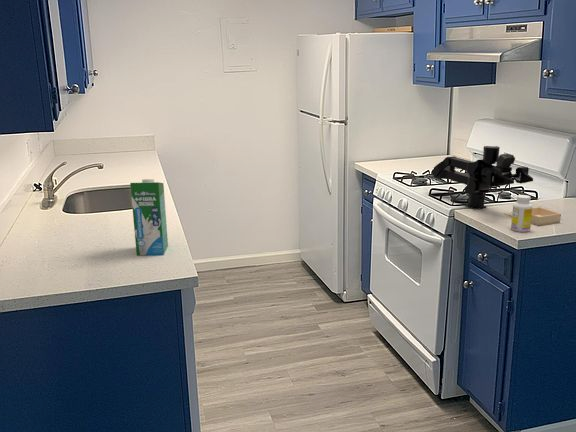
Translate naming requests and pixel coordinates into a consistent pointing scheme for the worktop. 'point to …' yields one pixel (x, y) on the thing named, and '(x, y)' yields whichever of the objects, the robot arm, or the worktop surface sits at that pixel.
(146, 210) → the milk carton
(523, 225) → the supplement bottle
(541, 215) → the mailer box
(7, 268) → the worktop surface
